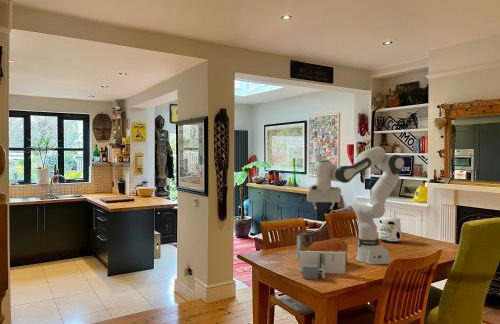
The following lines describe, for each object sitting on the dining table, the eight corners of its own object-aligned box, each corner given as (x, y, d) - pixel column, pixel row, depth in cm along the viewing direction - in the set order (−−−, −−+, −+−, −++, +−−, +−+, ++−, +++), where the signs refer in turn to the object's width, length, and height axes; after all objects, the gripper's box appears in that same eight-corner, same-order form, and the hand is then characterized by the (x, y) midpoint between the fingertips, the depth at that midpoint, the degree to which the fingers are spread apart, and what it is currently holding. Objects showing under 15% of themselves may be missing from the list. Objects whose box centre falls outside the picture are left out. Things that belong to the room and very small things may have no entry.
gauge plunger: (322, 271, 211) (322, 254, 211) (324, 278, 199) (324, 259, 199) (301, 271, 212) (301, 253, 212) (303, 277, 200) (303, 259, 200)
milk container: (378, 242, 288) (378, 219, 288) (377, 238, 305) (378, 216, 305) (402, 244, 283) (402, 220, 283) (400, 239, 300) (400, 217, 300)
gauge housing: (344, 273, 212) (345, 252, 211) (348, 279, 200) (349, 257, 199) (299, 271, 213) (299, 250, 213) (300, 278, 201) (301, 256, 201)
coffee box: (309, 256, 246) (309, 232, 246) (313, 259, 240) (313, 234, 239) (296, 257, 243) (296, 233, 243) (300, 260, 237) (300, 235, 237)
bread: (331, 258, 242) (332, 236, 241) (348, 263, 232) (348, 239, 232) (306, 266, 225) (306, 241, 225) (323, 270, 216) (323, 245, 216)
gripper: (340, 186, 229) (339, 209, 229) (306, 186, 230) (306, 208, 230) (341, 187, 222) (341, 210, 222) (307, 187, 224) (307, 209, 224)
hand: (323, 209), depth 226 cm, fingers open, 8 cm apart
